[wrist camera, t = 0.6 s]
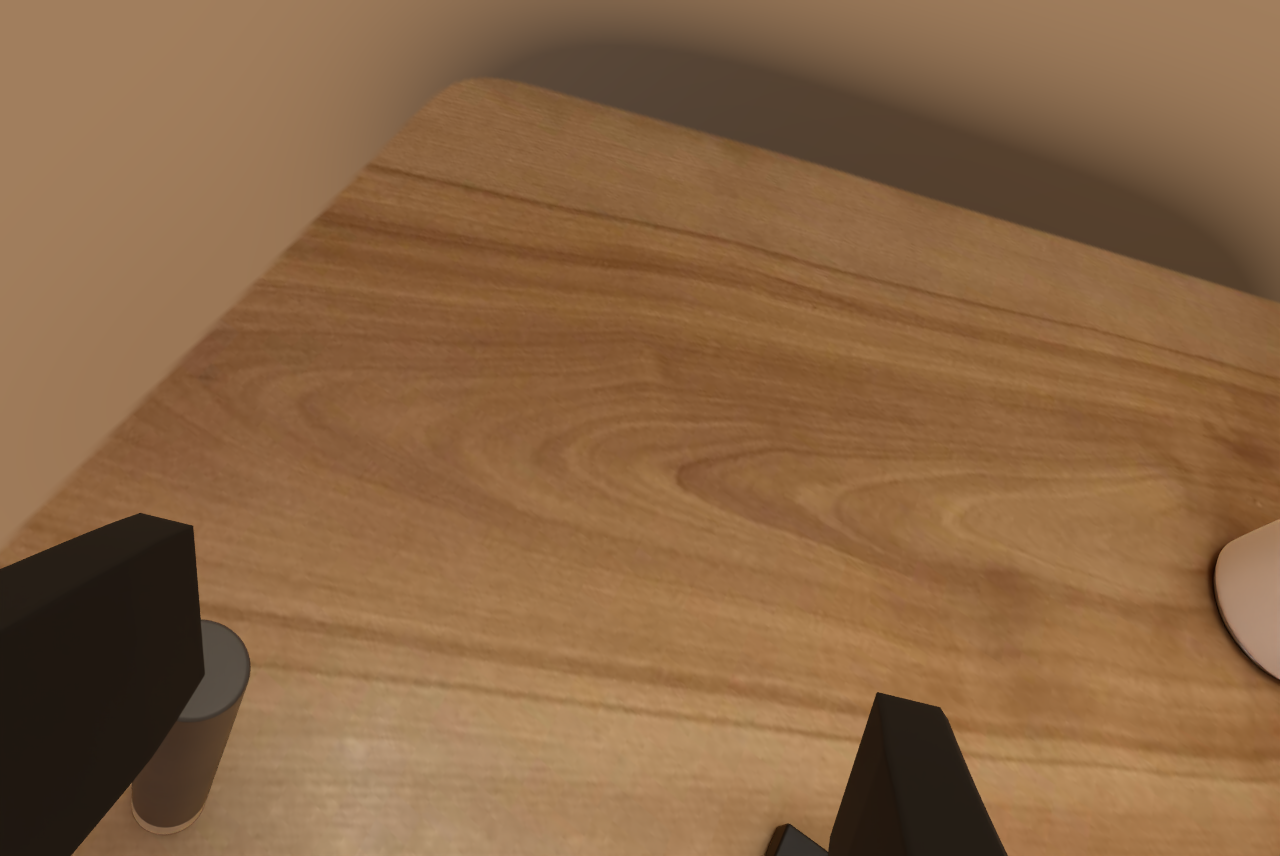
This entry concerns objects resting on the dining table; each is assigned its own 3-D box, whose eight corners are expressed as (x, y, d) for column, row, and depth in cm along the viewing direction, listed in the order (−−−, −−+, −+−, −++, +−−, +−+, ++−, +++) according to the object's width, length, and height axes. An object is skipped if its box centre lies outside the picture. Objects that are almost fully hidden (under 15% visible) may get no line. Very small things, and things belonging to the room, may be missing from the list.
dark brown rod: (172, 849, 24) (200, 743, 15) (115, 808, 24) (112, 679, 15) (220, 789, 25) (273, 658, 16) (166, 750, 25) (189, 597, 16)
